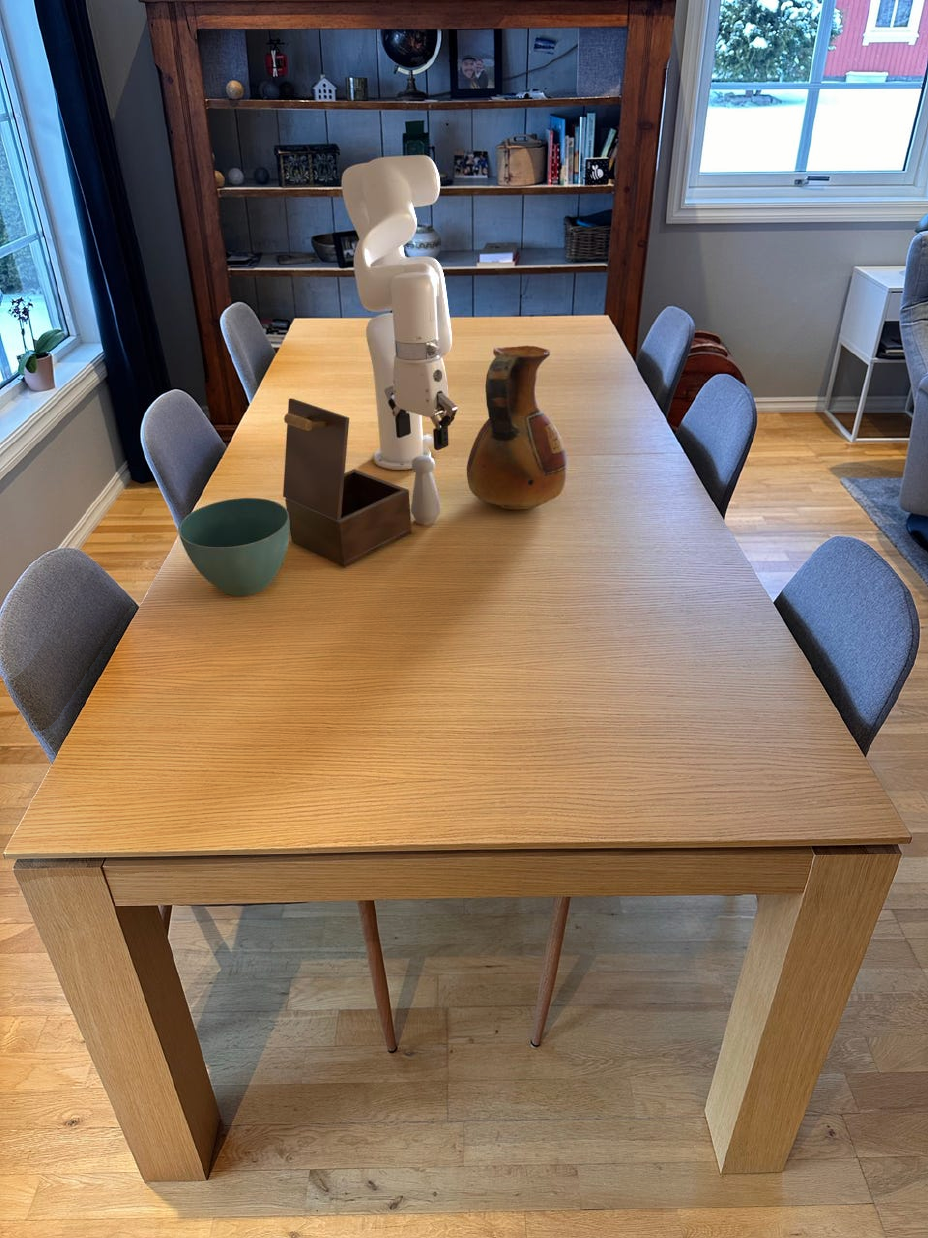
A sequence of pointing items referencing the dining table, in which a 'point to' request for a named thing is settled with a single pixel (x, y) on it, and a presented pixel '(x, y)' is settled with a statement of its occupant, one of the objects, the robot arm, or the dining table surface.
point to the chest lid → (315, 458)
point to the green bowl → (237, 543)
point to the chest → (354, 520)
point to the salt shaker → (424, 492)
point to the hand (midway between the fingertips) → (422, 441)
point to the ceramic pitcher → (516, 437)
